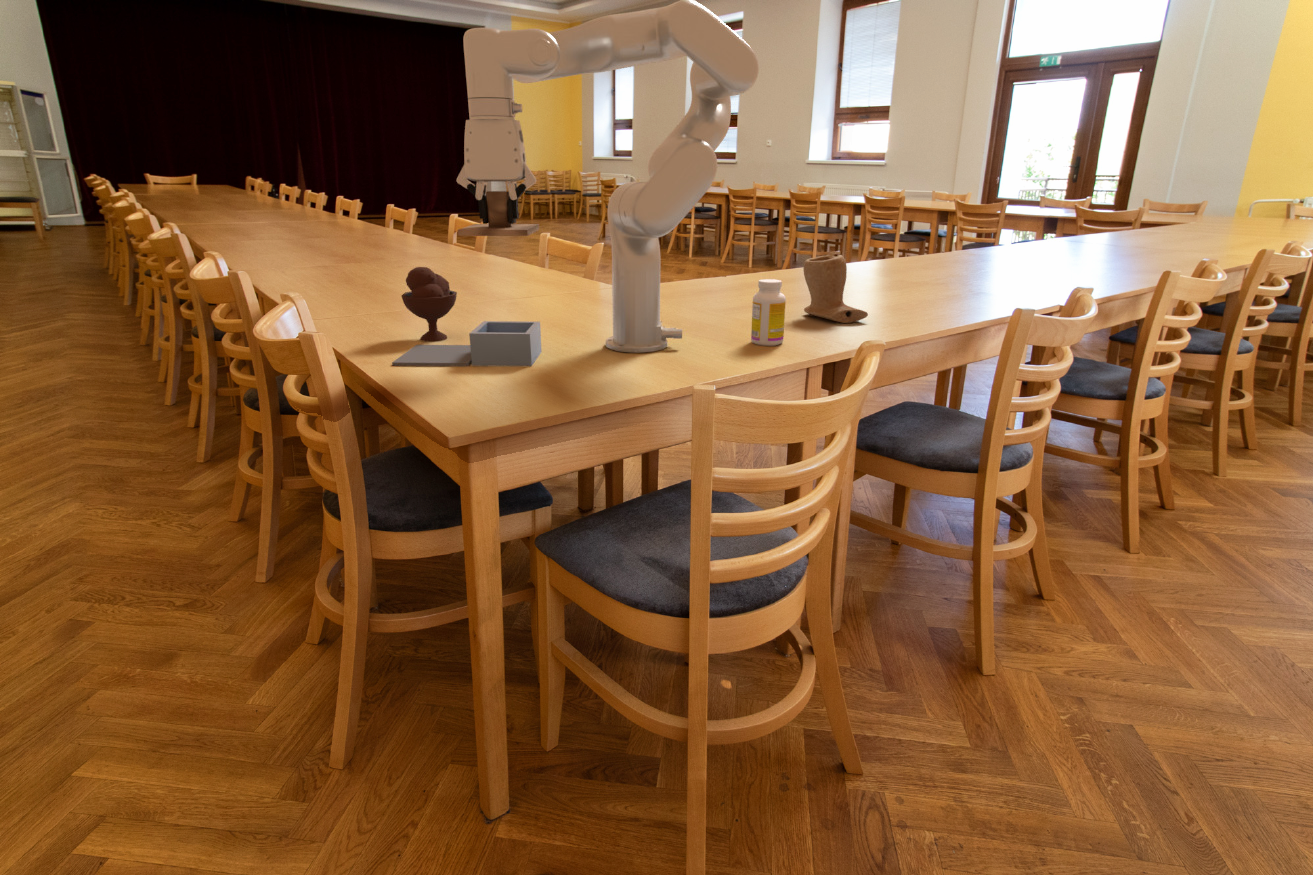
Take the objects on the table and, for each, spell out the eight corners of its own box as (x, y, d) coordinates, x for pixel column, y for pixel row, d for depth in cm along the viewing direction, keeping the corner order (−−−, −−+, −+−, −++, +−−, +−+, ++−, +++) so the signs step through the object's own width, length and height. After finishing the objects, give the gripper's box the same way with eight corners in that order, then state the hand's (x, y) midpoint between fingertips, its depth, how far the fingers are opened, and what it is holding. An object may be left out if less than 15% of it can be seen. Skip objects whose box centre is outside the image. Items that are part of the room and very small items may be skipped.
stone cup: (790, 314, 183) (795, 252, 178) (831, 311, 187) (837, 250, 182) (825, 327, 170) (830, 260, 164) (868, 323, 174) (875, 258, 168)
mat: (486, 348, 148) (486, 345, 148) (468, 366, 135) (468, 363, 135) (417, 347, 149) (416, 344, 148) (392, 365, 136) (392, 362, 135)
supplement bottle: (786, 341, 156) (791, 279, 151) (777, 348, 150) (782, 284, 145) (756, 338, 158) (759, 277, 154) (746, 344, 153) (749, 281, 148)
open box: (541, 351, 146) (540, 321, 144) (531, 366, 136) (529, 334, 134) (486, 351, 146) (483, 321, 144) (471, 365, 136) (469, 333, 134)
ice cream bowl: (446, 345, 150) (439, 270, 145) (396, 342, 152) (387, 269, 147) (469, 334, 160) (463, 264, 155) (422, 332, 162) (414, 262, 157)
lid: (539, 229, 138) (537, 190, 136) (527, 235, 127) (525, 193, 125) (475, 229, 138) (472, 190, 136) (458, 235, 127) (454, 193, 125)
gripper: (544, 112, 129) (549, 221, 136) (448, 112, 129) (458, 221, 136) (536, 110, 122) (542, 225, 129) (436, 110, 122) (447, 225, 129)
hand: (499, 222), depth 132 cm, fingers closed on lid, 4 cm apart
